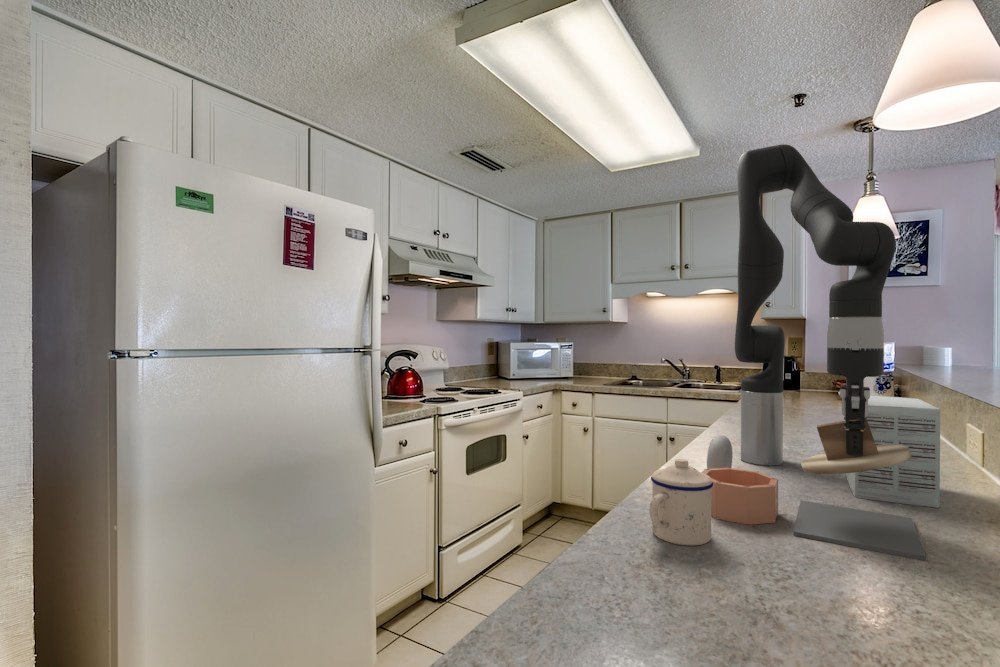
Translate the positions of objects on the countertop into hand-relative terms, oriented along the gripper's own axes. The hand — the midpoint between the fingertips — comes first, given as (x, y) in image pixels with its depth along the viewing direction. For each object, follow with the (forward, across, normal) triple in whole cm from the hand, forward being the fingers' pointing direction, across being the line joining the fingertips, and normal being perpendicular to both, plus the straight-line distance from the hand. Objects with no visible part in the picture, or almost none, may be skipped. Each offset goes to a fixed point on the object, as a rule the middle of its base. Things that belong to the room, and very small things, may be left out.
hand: (854, 452), depth 83 cm
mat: (+12, 0, 0) cm, 12 cm away
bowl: (+12, +2, -17) cm, 21 cm away
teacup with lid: (+12, +20, -23) cm, 33 cm away
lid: (+1, 0, 0) cm, 1 cm away
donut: (+12, -15, -23) cm, 30 cm away
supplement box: (+12, -28, +6) cm, 31 cm away
